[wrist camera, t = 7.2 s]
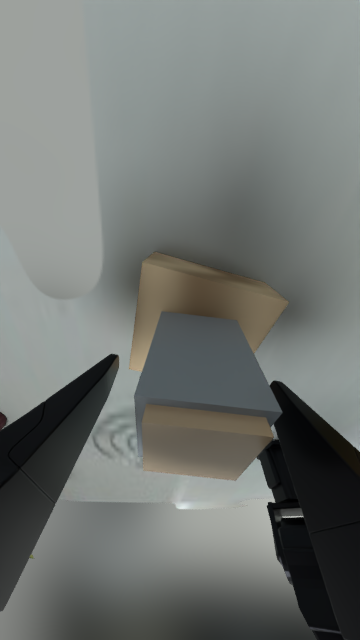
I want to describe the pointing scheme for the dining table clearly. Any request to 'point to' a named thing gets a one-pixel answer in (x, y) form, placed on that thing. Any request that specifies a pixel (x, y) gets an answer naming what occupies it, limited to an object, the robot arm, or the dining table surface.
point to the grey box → (202, 399)
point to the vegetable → (2, 421)
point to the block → (200, 300)
